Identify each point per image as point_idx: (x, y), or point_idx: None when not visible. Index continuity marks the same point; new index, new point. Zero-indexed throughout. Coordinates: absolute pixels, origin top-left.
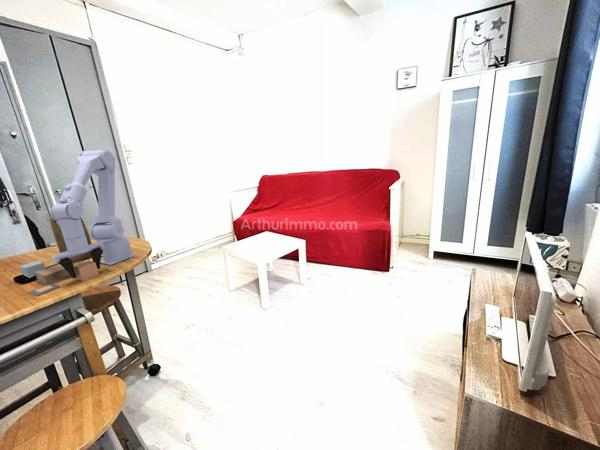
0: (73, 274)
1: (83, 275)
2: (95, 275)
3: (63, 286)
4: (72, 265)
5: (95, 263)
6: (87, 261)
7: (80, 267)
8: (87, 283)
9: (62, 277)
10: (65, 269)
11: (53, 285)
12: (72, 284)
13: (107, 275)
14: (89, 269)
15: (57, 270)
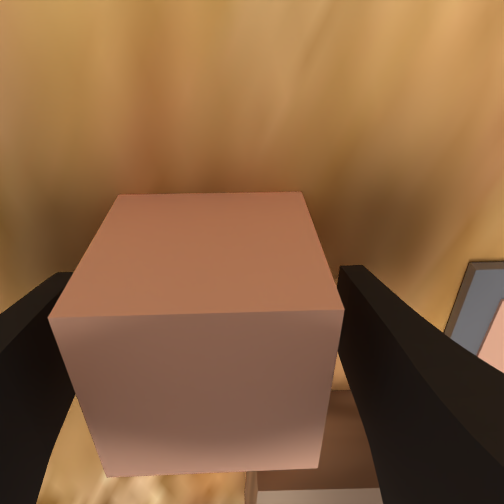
0: (388, 291)
1: (290, 225)
2: (158, 198)
3: (450, 252)
4: (450, 398)
5: (61, 298)
6: (124, 451)
7: (321, 309)
8: (338, 32)
9: (347, 412)
10: (322, 479)
11: (467, 339)
12: (398, 212)
13: (51, 21)
14: (194, 256)
15: (376, 502)
